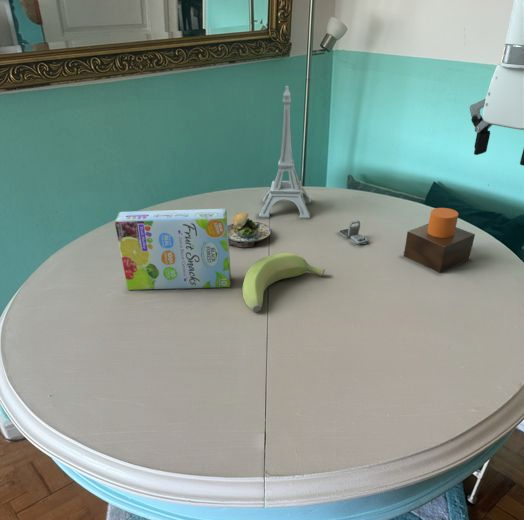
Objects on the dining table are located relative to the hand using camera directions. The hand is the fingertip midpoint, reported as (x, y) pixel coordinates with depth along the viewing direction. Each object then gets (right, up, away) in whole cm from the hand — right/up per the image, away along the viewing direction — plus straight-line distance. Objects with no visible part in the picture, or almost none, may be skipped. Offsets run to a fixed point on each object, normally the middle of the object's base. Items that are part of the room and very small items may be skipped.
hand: (502, 158), depth 99 cm
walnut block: (-7, -16, +17) cm, 24 cm away
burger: (-49, -9, +27) cm, 57 cm away
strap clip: (-24, -10, +26) cm, 37 cm away
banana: (-41, -24, +7) cm, 48 cm away
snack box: (-63, -23, +10) cm, 68 cm away
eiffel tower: (-39, +2, +42) cm, 58 cm away
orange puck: (-7, -11, +13) cm, 19 cm away
